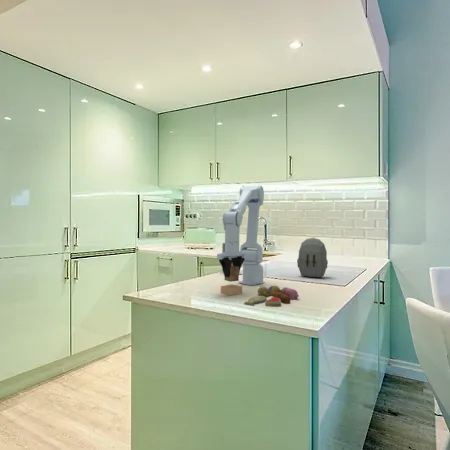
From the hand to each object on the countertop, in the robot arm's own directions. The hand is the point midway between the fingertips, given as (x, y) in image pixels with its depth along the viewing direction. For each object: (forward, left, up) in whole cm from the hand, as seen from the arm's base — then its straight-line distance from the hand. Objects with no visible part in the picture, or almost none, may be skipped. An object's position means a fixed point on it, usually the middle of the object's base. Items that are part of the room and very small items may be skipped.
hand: (231, 276), depth 139 cm
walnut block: (0, 0, -2) cm, 2 cm away
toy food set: (-4, +18, -7) cm, 20 cm away
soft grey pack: (-57, +2, -7) cm, 57 cm away
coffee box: (-35, -34, -7) cm, 49 cm away
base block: (0, 0, -7) cm, 7 cm away
